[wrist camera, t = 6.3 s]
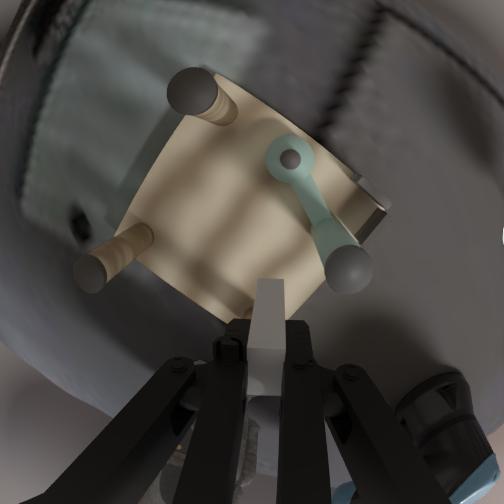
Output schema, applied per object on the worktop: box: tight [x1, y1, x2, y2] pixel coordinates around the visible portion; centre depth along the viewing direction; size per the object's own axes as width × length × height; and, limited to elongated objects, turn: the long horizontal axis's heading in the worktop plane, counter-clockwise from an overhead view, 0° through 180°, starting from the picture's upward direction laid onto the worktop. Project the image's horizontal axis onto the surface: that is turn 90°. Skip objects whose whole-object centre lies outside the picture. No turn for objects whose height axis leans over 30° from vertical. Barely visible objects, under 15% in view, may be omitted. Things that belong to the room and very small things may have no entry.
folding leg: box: [265, 135, 374, 295], centre depth 23 cm, size 12×4×11 cm, turn 30°
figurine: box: [143, 360, 260, 504], centre depth 30 cm, size 10×14×25 cm
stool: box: [72, 67, 393, 397], centre depth 26 cm, size 22×22×14 cm
